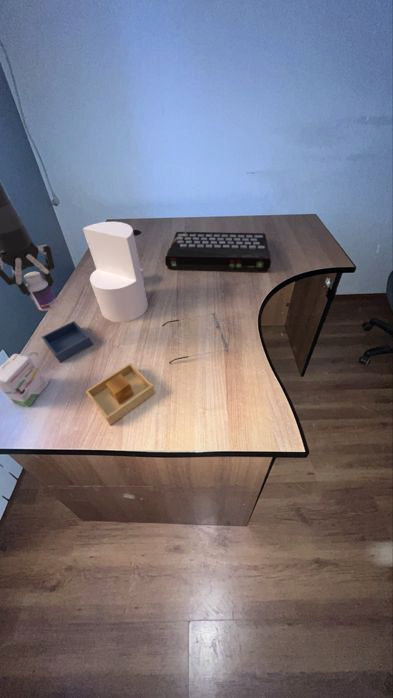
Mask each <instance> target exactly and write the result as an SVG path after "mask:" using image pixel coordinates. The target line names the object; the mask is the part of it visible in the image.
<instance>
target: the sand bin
mask: <svg viewBox="0 0 393 698" xmlns="http://www.w3.org/2000/svg"><path fill="white" fill-rule="evenodd" d="M120 374H121V375H122V376H123V377H124V378H125V379H126V380H127V381H128V382H129V383H130V386H131V388H132V391H133V394H134V395H132V396H131V397H129V398H128V399H126V400H125V401H124V402H122V403H121V404H118V402H117V401H116V400H115V399H114V398H113V396H112V395H111V394H110V392H109V390H108V388H107V386H106V383H107V382H109V381H110V380H112V379H113V378H115V377H116V376H118V375H120ZM85 393H86V395H87V396H88V398H89V400H90V401H91V402H92V403H93V405H94V406H95V407H96V409H97V410H98V411H99V413H100V414H101V416H102V417H103V418H104V419H105V421H106V422H107V424H108V425H109V426H112V425H113V424H115V423H116V422H117V421H119V420H120V419H122V418H123V417H124V416H125V415H127V414H128V413H130V412H131V411H132V410H134V409H135V408H137V407H138V406H140V405H141V404H142V403H143V402H145V401H146V400H148V399H149V398H150V397H152V396H153V395H155V393H156V391H155V387H154V384H153V383H151V382H150V381H149V380H148V378H146V377H145V375H143V373H142V372H140V371H139V369H138V368H137V367H135V366H134V365H133V364H132V363H131V362H129V363H128V364H126V365H124V366H122V367H121V368H120V369H118V370H116V371H115V372H113V373H112V374H110V375H109V376H107V377H106V378H103V379H102V380H100V381H99V382H97V383H96V384H94V385H92V386H91V387H89V388H88V389H87V390H85Z"/></svg>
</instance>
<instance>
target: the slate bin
mask: <svg viewBox="0 0 393 698" xmlns="http://www.w3.org/2000/svg"><path fill="white" fill-rule="evenodd" d="M90 337H91V336H90V335H88V334H87V333H86V332H85V331H84V329H83V328H81V326H80V325H79V324H78V323H77V322H76V321H75V320H72V321H70V322H68V323H67V324H65V325H63V326H61V327H59V328H55V330H52V331H50V332H48V333H46V334H44V335H42V336H41V338H42V340H43V342H44V344H45V345H46V346H47V347H48V349H49V350H50V352H51V353H52V355H54V357H55V358H56V359H57V361H58V362H59V363H63V362H64V361H66V360H67V359H70V358H72V357H73V356H75V355H77V354H79V353H81V352H83V351H84V350H86V349H88V348H89V347H92V346H93V345H94V344H93V342H92V339H91V338H90Z"/></svg>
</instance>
